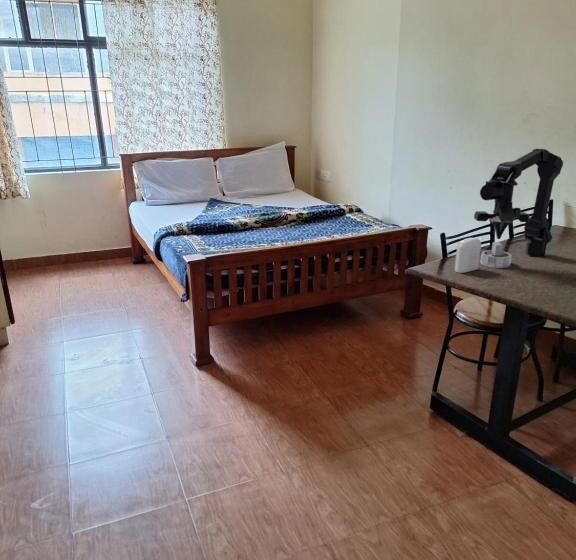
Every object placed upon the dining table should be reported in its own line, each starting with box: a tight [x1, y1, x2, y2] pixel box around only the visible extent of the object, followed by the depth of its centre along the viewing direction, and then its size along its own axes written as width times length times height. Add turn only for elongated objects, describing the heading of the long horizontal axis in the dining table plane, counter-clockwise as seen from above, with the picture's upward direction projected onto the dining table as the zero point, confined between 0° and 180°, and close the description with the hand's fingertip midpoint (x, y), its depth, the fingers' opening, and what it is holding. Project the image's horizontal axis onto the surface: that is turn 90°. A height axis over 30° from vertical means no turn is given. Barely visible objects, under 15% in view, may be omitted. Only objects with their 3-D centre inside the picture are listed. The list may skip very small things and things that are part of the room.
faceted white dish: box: [479, 249, 513, 269], centre depth 195 cm, size 11×11×4 cm
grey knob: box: [487, 241, 506, 257], centre depth 194 cm, size 7×7×6 cm
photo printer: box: [454, 237, 482, 274], centre depth 185 cm, size 10×4×12 cm, turn 123°
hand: (498, 238), depth 192 cm, fingers closed
